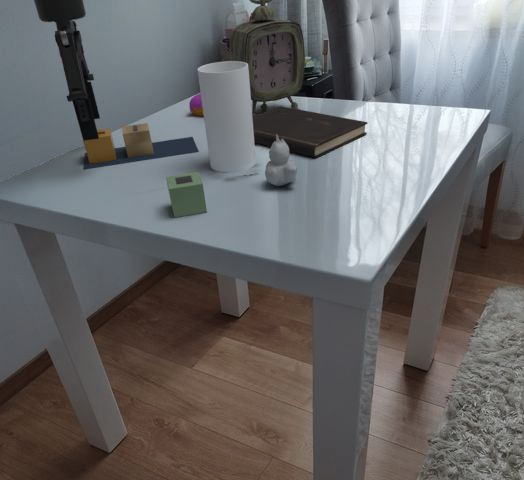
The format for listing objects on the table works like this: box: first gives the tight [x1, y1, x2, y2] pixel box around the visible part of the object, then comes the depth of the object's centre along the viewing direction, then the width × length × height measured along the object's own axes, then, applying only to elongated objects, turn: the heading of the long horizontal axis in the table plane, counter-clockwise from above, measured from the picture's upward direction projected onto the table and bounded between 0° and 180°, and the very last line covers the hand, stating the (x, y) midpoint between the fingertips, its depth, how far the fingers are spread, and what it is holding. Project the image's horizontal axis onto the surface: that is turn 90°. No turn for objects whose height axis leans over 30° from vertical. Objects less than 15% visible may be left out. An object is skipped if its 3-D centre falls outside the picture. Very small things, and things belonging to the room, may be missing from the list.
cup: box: [197, 60, 257, 173], centre depth 86 cm, size 8×8×16 cm
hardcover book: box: [252, 105, 369, 159], centre depth 101 cm, size 16×23×2 cm
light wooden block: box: [121, 122, 154, 158], centre depth 98 cm, size 5×5×5 cm
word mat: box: [82, 136, 200, 171], centre depth 100 cm, size 22×10×1 cm, turn 103°
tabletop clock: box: [228, 0, 306, 117], centre depth 108 cm, size 14×9×25 cm, turn 118°
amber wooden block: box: [82, 128, 116, 164], centre depth 97 cm, size 5×5×5 cm
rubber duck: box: [264, 134, 298, 187], centre depth 81 cm, size 5×7×8 cm
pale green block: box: [165, 171, 208, 218], centre depth 77 cm, size 5×5×5 cm
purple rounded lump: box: [189, 93, 204, 117], centre depth 117 cm, size 10×10×5 cm
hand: (92, 128), depth 95 cm, fingers open, 13 cm apart
